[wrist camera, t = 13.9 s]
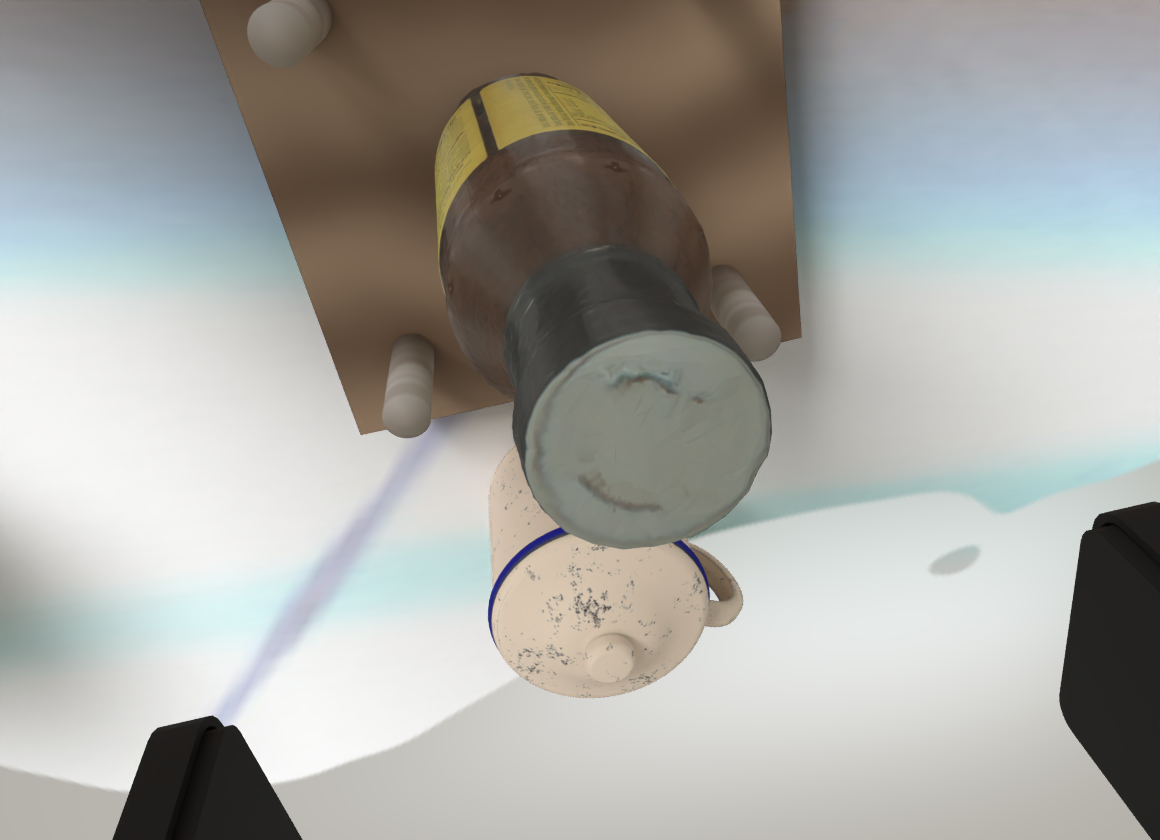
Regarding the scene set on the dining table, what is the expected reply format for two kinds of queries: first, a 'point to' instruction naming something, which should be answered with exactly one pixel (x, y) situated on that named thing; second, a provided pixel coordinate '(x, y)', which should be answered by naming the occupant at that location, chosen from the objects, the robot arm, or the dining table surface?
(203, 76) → the dining table surface
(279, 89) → the peg shelf
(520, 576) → the teacup with lid
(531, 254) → the sauce bottle
